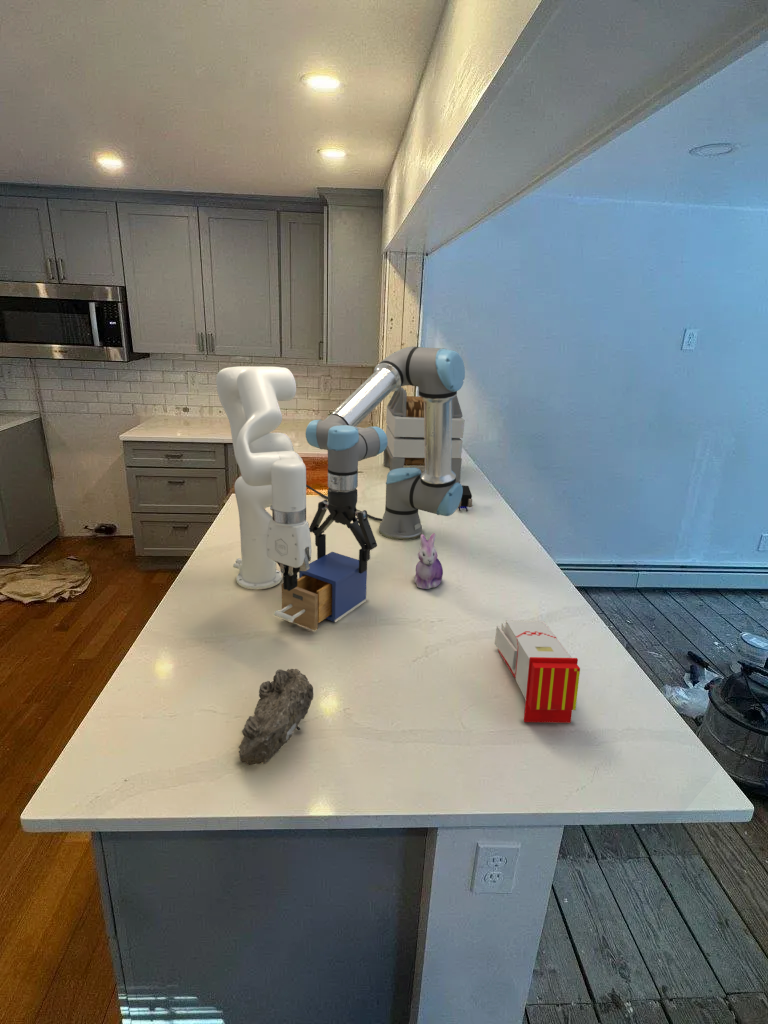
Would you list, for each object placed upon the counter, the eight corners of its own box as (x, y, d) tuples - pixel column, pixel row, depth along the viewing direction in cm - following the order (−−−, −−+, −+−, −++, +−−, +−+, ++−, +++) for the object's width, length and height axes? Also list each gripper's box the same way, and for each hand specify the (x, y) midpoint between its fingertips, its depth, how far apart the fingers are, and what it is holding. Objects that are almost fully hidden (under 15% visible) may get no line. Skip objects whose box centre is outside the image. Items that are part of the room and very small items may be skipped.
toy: (541, 605, 135) (589, 664, 106) (536, 657, 138) (581, 729, 108) (490, 604, 135) (524, 663, 105) (486, 656, 137) (518, 728, 108)
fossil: (254, 669, 115) (309, 637, 110) (285, 700, 118) (340, 670, 113) (215, 759, 96) (280, 724, 91) (253, 792, 99) (319, 761, 94)
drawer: (299, 641, 132) (299, 605, 129) (266, 627, 137) (265, 592, 134) (345, 610, 146) (345, 577, 143) (313, 598, 151) (313, 566, 148)
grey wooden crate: (382, 463, 289) (386, 382, 275) (445, 464, 293) (451, 384, 279) (390, 482, 257) (394, 392, 243) (460, 483, 261) (468, 394, 247)
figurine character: (472, 516, 224) (466, 500, 237) (474, 499, 220) (469, 483, 234) (455, 515, 224) (451, 499, 237) (457, 498, 220) (452, 483, 234)
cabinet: (335, 622, 142) (335, 581, 138) (299, 608, 148) (299, 568, 144) (366, 601, 153) (367, 562, 149) (331, 588, 159) (332, 551, 155)
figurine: (423, 593, 159) (426, 543, 153) (405, 577, 167) (408, 530, 162) (451, 587, 163) (455, 538, 158) (432, 572, 171) (436, 526, 166)
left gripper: (252, 511, 128) (255, 584, 134) (304, 527, 120) (304, 603, 126) (275, 503, 134) (277, 573, 140) (326, 517, 126) (325, 591, 132)
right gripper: (294, 482, 146) (296, 557, 153) (375, 502, 133) (373, 582, 141) (313, 475, 152) (313, 548, 159) (392, 494, 139) (389, 572, 147)
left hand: (290, 587), depth 133 cm, fingers closed
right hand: (341, 564), depth 150 cm, fingers open, 13 cm apart
